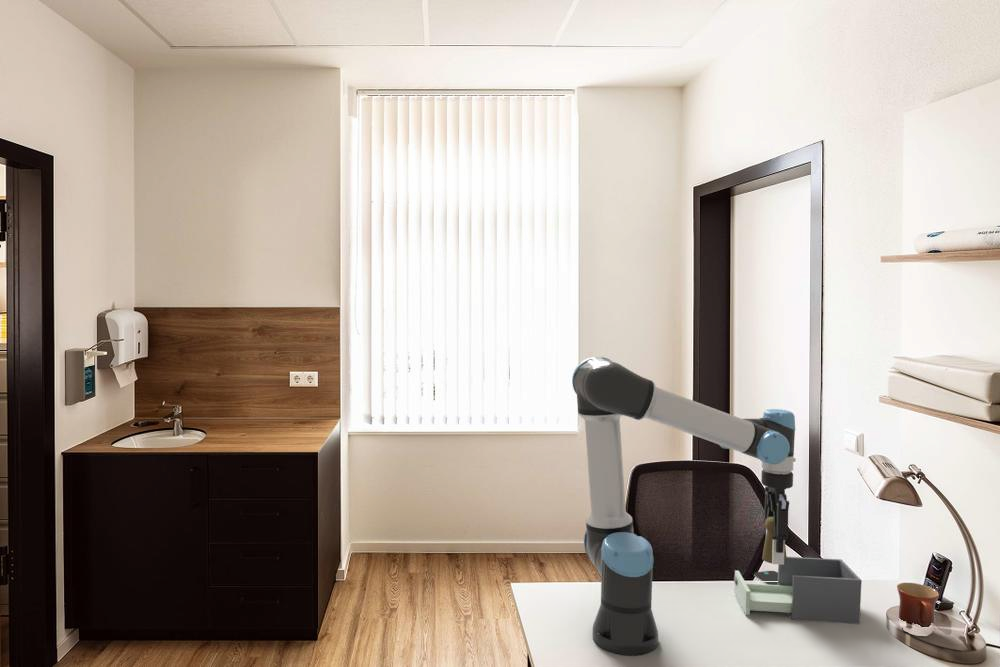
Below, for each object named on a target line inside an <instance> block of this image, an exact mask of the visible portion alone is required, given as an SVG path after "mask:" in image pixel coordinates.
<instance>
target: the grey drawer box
mask: <svg viewBox="0 0 1000 667" xmlns="http://www.w3.org/2000/svg"><path fill="white" fill-rule="evenodd" d="M777 565H778V566H777V572H778V585H784V586H792V609H791V613H788V612H786V613H787V614H788V616H789V617H790V619H791V620H792V621H806V622H823V623H836V624H837V623H841V624H857V625H860V623H861V621H860V620H861V618H860V617H861V600H862V598H861V597H862V579H861V578H860V577H859V576H858V574H856V573H855V572H854V571H853V570H852V569H851V568H850V567H849V566H848V565H847V564H846V562H844V561H843V559H839V558H838V559H837V558H821V557H820V558H819V557H802V556H801V557H799V556H787V563H785V564H784V565H780V564H777Z"/></svg>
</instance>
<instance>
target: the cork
mask: <svg viewBox="0 0 1000 667" xmlns="http://www.w3.org/2000/svg"><path fill="white" fill-rule="evenodd" d="M764 526H765V530H766V529H767V533H766V532H765V539H764V544H763V551H762V554H761V555H762V557H761V559H762V561H764V562H766V563H769V564H772V550H773V539H772V538H771V537H774V518H773V517H768V518H767V519H766V520H765V523H764ZM787 557H788V556H787V549H786V546H785V549H784V564H785V563H787Z"/></svg>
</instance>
